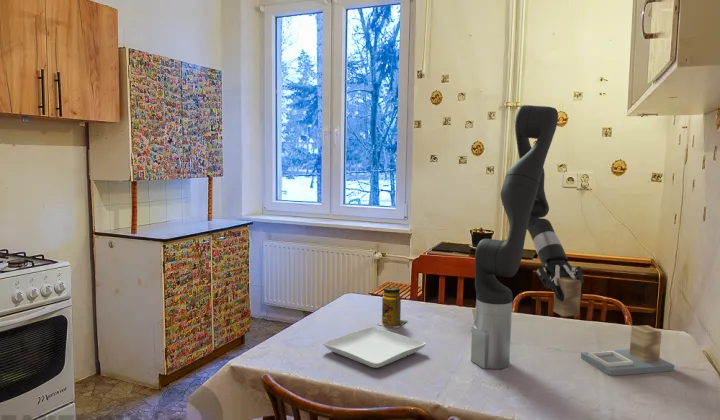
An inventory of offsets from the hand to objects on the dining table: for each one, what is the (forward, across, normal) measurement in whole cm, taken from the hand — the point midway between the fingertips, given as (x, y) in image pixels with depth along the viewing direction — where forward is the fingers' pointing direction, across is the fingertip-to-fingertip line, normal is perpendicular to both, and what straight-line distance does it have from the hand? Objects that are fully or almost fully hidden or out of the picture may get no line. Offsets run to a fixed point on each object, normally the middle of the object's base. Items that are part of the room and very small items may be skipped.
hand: (571, 299), depth 145 cm
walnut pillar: (+2, 0, +5) cm, 5 cm away
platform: (-6, -16, +29) cm, 33 cm away
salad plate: (+6, -55, +18) cm, 58 cm away
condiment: (-12, -43, +35) cm, 56 cm away
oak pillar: (+17, +16, +2) cm, 24 cm away
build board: (+18, +11, +3) cm, 21 cm away
